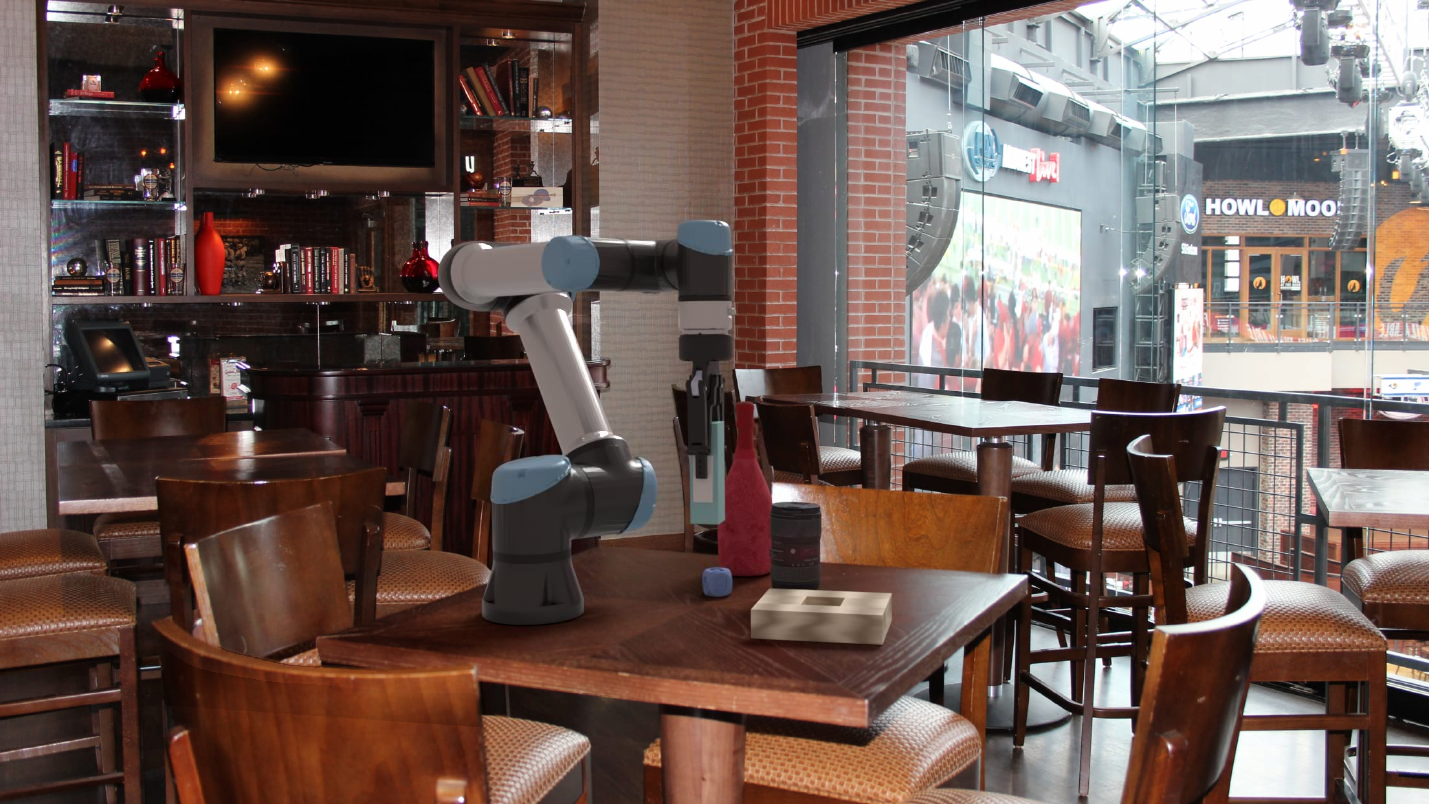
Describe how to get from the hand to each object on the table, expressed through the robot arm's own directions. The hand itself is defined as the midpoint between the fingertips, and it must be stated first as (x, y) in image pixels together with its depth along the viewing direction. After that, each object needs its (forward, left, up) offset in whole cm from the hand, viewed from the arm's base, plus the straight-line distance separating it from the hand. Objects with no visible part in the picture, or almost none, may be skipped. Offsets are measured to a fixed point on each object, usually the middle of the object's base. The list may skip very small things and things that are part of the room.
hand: (707, 499), depth 172 cm
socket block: (+16, +4, -19) cm, 25 cm away
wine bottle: (-3, +42, -19) cm, 46 cm away
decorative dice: (-4, +24, -19) cm, 31 cm away
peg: (0, 0, -3) cm, 3 cm away
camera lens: (+9, +23, -19) cm, 31 cm away
